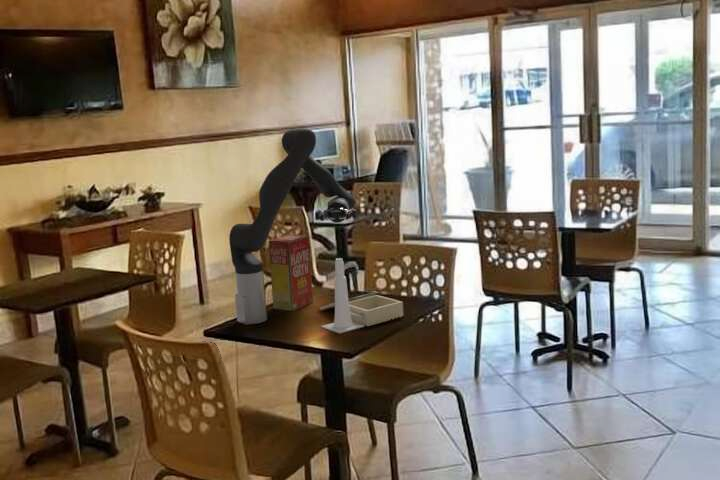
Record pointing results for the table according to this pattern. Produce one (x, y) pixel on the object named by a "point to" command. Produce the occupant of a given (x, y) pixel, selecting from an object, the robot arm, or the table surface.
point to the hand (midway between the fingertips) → (334, 217)
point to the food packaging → (290, 272)
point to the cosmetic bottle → (341, 297)
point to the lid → (334, 303)
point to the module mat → (341, 330)
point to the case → (374, 309)
